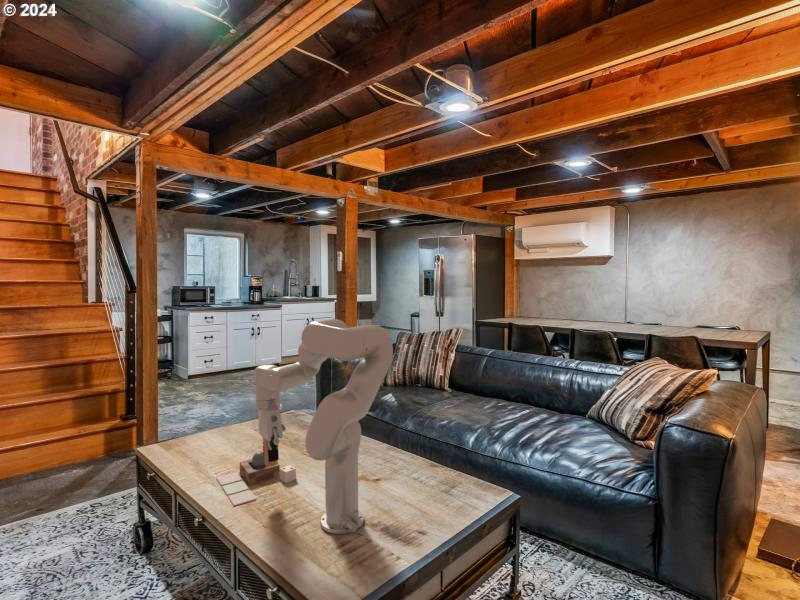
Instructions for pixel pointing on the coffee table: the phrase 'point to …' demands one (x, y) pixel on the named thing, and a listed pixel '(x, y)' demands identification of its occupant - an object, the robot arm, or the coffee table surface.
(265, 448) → the brown rounded cylinder piece
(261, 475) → the frame
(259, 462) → the dome
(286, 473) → the die
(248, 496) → the tile strip
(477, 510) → the coffee table surface
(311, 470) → the coffee table surface
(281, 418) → the bust
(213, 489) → the coffee table surface
